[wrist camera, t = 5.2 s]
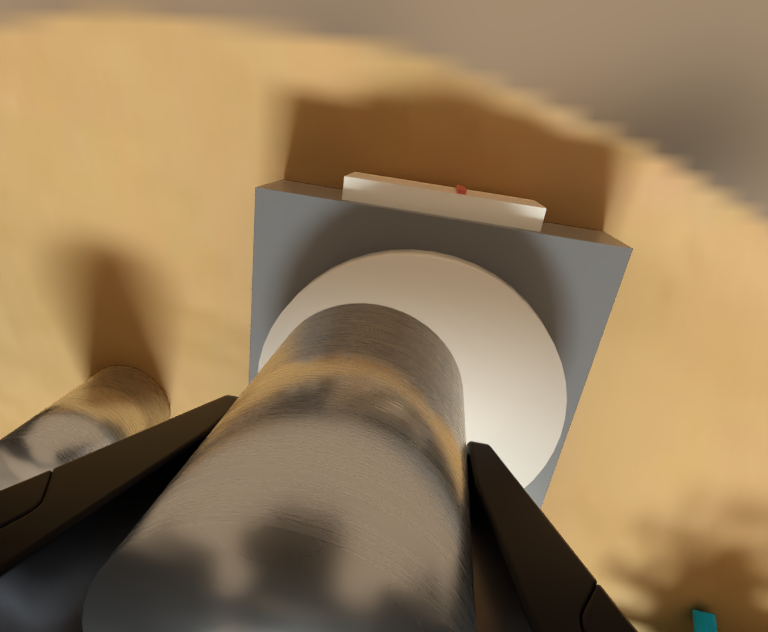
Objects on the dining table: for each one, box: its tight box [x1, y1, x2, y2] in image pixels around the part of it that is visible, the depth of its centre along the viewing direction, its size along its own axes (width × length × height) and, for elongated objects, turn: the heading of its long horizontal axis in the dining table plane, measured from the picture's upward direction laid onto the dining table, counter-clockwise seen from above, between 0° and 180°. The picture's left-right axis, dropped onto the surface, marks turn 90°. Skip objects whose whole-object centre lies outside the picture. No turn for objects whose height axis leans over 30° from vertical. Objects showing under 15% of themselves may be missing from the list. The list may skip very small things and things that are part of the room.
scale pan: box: [258, 249, 567, 488], centre depth 17 cm, size 11×11×1 cm
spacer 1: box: [0, 366, 170, 490], centre depth 21 cm, size 4×4×6 cm
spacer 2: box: [82, 303, 476, 632], centre depth 8 cm, size 4×4×6 cm
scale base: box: [249, 172, 633, 509], centre depth 19 cm, size 13×14×3 cm
